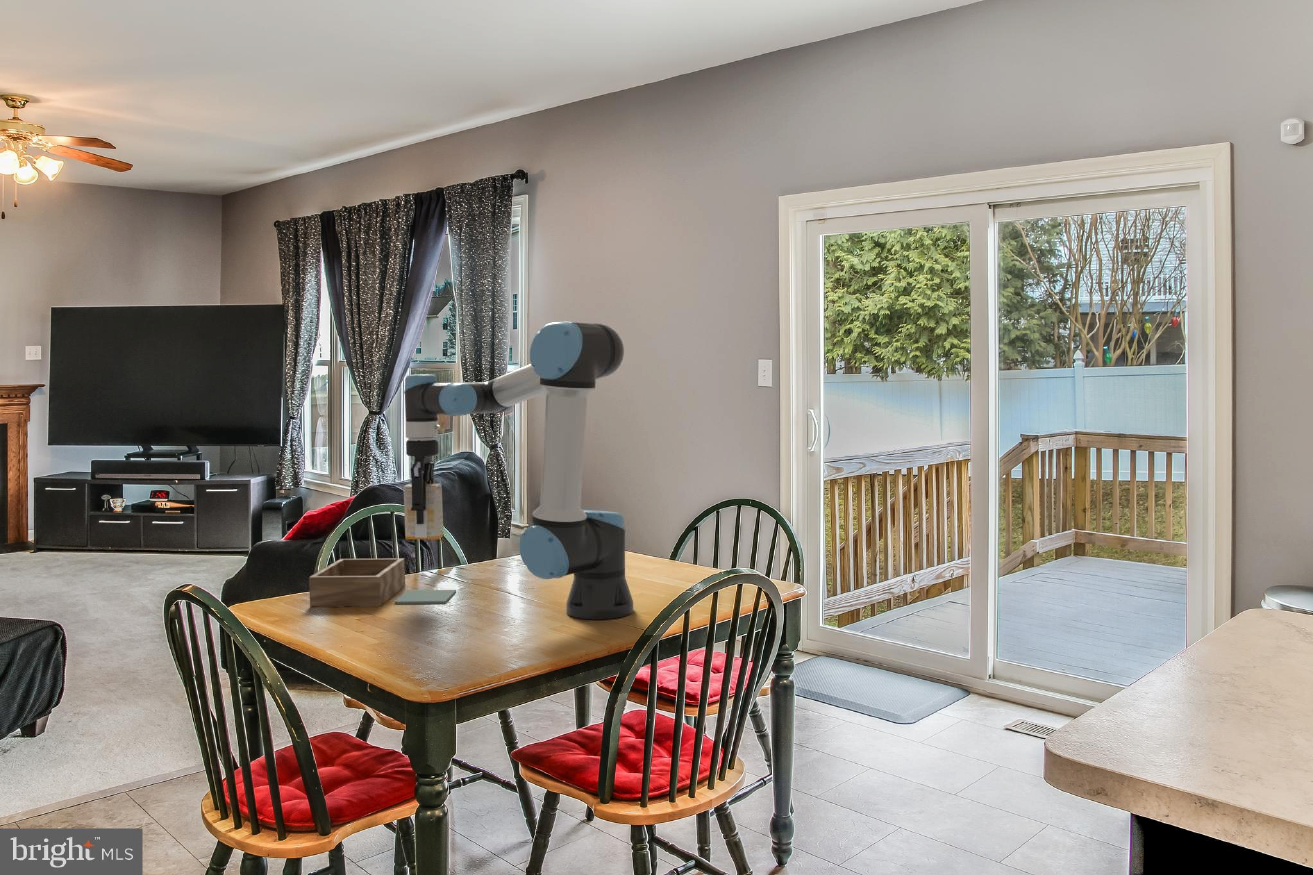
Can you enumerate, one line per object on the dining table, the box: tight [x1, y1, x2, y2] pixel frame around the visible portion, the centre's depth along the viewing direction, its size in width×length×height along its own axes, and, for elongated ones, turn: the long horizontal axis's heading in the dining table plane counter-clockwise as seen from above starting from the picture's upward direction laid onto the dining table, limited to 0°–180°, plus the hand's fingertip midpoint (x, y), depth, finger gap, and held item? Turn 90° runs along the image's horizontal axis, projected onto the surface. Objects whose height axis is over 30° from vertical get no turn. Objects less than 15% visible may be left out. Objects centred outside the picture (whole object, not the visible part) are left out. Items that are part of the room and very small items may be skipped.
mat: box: [394, 589, 457, 605], centre depth 234 cm, size 12×12×1 cm
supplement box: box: [402, 483, 444, 540], centre depth 233 cm, size 8×5×13 cm, turn 85°
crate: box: [308, 557, 406, 608], centre depth 237 cm, size 22×16×7 cm
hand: (424, 535), depth 233 cm, fingers closed on supplement box, 5 cm apart
